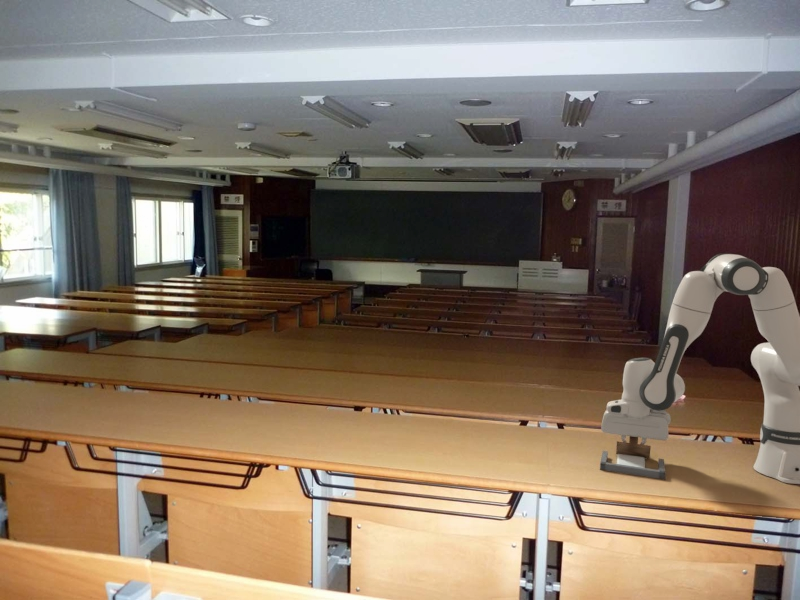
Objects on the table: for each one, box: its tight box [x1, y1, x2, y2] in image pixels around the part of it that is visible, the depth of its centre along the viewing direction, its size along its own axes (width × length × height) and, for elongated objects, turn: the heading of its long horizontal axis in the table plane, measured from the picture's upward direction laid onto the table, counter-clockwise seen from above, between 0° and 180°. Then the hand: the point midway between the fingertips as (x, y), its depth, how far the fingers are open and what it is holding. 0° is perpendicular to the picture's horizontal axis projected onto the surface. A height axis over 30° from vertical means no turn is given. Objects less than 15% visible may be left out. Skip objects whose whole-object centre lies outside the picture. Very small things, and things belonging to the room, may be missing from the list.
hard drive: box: [616, 454, 646, 468], centre depth 190 cm, size 2×8×12 cm
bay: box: [599, 450, 666, 480], centre depth 187 cm, size 18×12×2 cm
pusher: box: [615, 436, 652, 460], centre depth 198 cm, size 10×7×5 cm
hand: (633, 449), depth 198 cm, fingers closed on pusher, 2 cm apart
